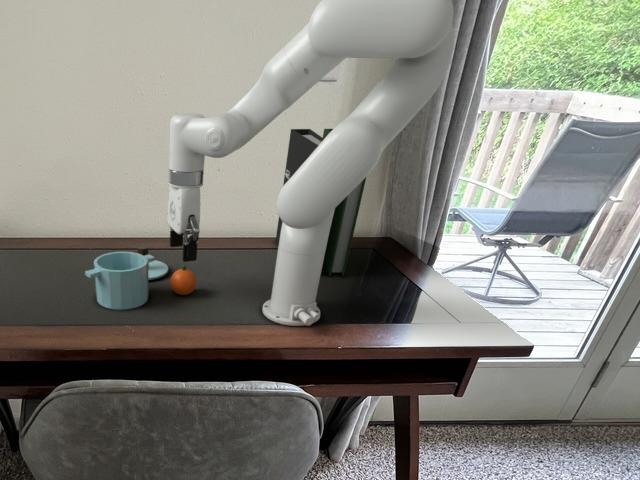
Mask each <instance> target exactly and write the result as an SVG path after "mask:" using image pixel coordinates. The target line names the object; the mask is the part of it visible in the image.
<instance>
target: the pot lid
mask: <svg viewBox="0 0 640 480" xmlns="http://www.w3.org/2000/svg"><path fill="white" fill-rule="evenodd" d="M136 248H137V249H136V250H137V251H136V253H138V254H141V255H143V256H145V255H150V253H149V252H150V249H149V245H145V244H140V245H138V246H137V247H136ZM168 273H169V266H168V265H167V263H165V262H163V261H160V260H156V259H155V261H152V262H149V263H148V281H152V280H157V279H160V278H162V277H164V276H166V275H167V274H168Z"/></svg>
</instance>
